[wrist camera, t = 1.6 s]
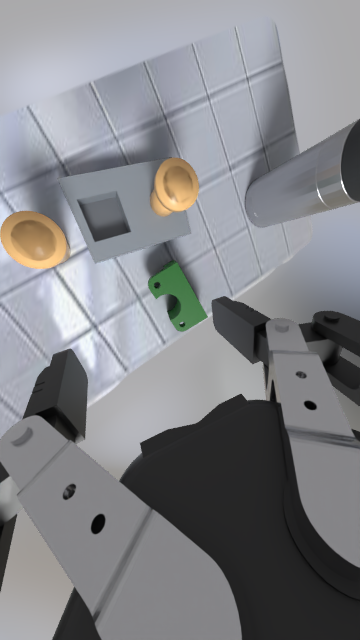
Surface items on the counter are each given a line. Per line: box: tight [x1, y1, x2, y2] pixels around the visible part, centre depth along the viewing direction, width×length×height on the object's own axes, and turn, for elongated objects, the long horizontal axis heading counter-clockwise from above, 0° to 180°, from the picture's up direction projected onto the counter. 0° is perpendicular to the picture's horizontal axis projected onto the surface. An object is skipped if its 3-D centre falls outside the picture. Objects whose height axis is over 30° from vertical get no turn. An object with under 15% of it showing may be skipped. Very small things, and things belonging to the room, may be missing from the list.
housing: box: [57, 157, 199, 264], centre depth 27 cm, size 16×11×10 cm, turn 109°
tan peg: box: [0, 211, 70, 269], centre depth 25 cm, size 6×6×10 cm
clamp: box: [148, 260, 208, 331], centre depth 35 cm, size 12×6×9 cm, turn 27°
